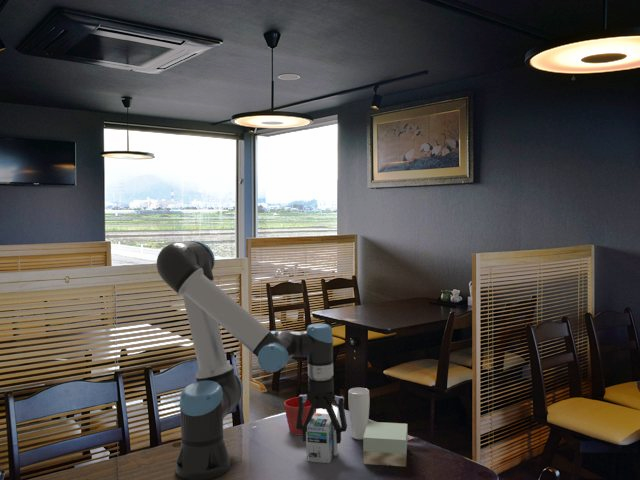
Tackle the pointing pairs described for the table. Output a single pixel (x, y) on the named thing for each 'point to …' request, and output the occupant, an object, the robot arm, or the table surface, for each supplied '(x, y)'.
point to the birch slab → (384, 458)
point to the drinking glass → (358, 411)
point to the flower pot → (296, 414)
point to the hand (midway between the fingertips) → (322, 452)
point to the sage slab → (385, 437)
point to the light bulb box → (320, 438)
